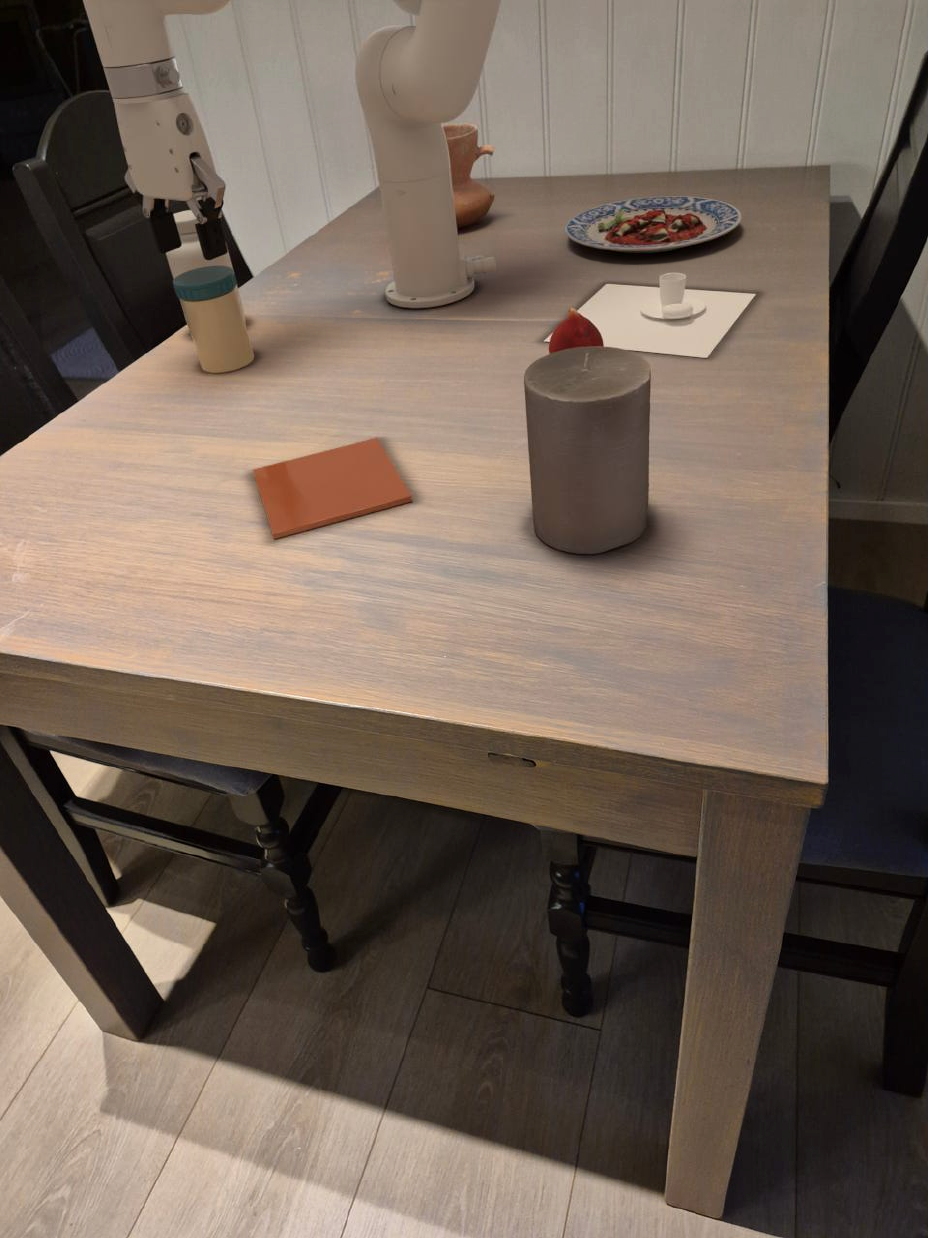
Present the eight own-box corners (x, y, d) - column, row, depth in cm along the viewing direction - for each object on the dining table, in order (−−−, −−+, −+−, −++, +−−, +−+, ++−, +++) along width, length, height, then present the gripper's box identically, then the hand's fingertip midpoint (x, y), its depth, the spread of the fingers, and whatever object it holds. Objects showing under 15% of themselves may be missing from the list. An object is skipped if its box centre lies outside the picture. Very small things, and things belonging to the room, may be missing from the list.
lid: (238, 275, 111) (234, 261, 110) (235, 294, 105) (231, 279, 104) (179, 285, 110) (175, 271, 109) (173, 304, 105) (168, 290, 104)
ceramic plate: (778, 227, 130) (780, 206, 128) (648, 277, 120) (648, 254, 118) (654, 201, 147) (654, 182, 145) (531, 242, 138) (530, 222, 136)
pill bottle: (234, 338, 120) (201, 222, 110) (180, 340, 122) (143, 225, 112) (256, 316, 126) (226, 203, 116) (204, 318, 127) (171, 207, 118)
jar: (255, 347, 116) (233, 266, 110) (253, 367, 111) (230, 283, 105) (203, 356, 116) (178, 275, 110) (199, 376, 111) (173, 293, 104)
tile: (378, 442, 91) (376, 437, 91) (412, 501, 82) (411, 495, 81) (254, 474, 89) (252, 469, 89) (274, 539, 79) (272, 533, 79)
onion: (608, 370, 99) (608, 298, 94) (597, 392, 95) (596, 319, 90) (557, 368, 100) (554, 298, 96) (544, 390, 96) (540, 318, 91)
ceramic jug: (500, 206, 156) (492, 115, 147) (500, 230, 145) (492, 133, 136) (399, 218, 158) (385, 128, 149) (391, 242, 146) (376, 147, 137)
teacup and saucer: (691, 327, 105) (693, 293, 102) (627, 321, 109) (627, 288, 106) (713, 300, 111) (716, 267, 108) (652, 296, 114) (653, 264, 112)
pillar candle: (553, 487, 81) (544, 326, 71) (660, 499, 77) (665, 331, 68) (517, 547, 74) (501, 378, 64) (632, 563, 70) (634, 387, 61)
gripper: (225, 74, 92) (266, 250, 103) (124, 76, 101) (171, 237, 112) (169, 88, 87) (217, 270, 98) (68, 88, 96) (123, 256, 107)
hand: (193, 252), depth 105 cm, fingers open, 7 cm apart
